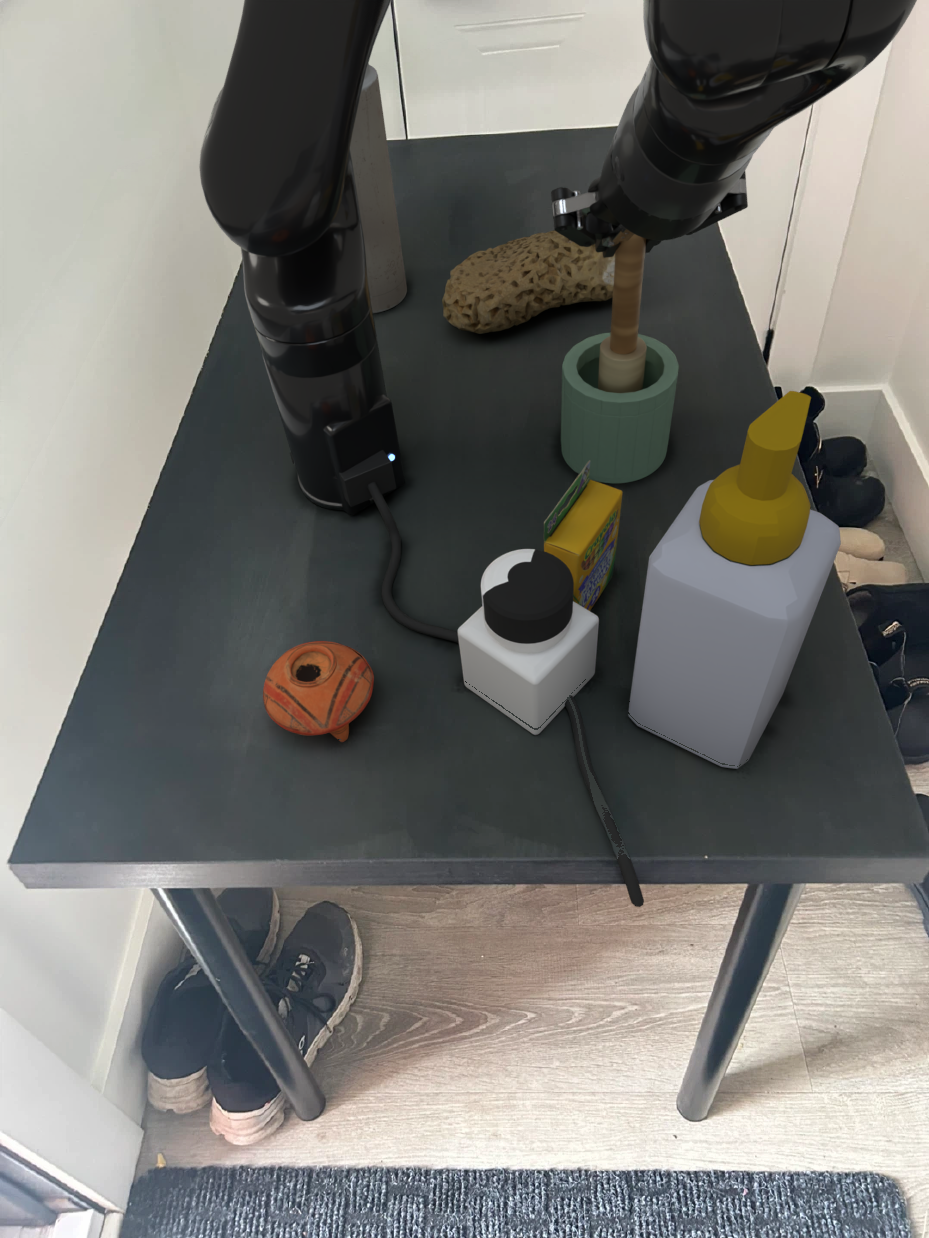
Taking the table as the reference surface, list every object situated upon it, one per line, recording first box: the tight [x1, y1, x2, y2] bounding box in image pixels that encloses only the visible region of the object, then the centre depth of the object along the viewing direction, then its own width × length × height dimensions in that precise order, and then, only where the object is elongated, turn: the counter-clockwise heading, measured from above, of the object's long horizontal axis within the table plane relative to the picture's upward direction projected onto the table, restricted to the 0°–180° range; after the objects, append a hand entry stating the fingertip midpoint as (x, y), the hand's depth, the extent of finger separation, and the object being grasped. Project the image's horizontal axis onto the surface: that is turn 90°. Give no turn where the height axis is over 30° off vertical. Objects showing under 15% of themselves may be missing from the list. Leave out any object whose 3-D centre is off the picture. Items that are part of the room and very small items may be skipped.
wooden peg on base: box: [598, 234, 647, 393], centre depth 70 cm, size 4×4×17 cm
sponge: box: [441, 229, 615, 335], centre depth 93 cm, size 13×8×20 cm
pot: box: [262, 640, 375, 743], centre depth 64 cm, size 8×8×7 cm
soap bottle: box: [627, 390, 842, 770], centre depth 54 cm, size 9×9×25 cm
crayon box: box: [543, 460, 623, 612], centre depth 66 cm, size 7×3×12 cm, turn 149°
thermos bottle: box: [350, 62, 408, 314], centre depth 89 cm, size 8×8×28 cm
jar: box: [560, 332, 680, 484], centre depth 78 cm, size 10×10×9 cm
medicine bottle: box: [457, 548, 600, 736], centre depth 62 cm, size 7×7×12 cm
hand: (624, 241), depth 68 cm, fingers closed on wooden peg on base, 2 cm apart
